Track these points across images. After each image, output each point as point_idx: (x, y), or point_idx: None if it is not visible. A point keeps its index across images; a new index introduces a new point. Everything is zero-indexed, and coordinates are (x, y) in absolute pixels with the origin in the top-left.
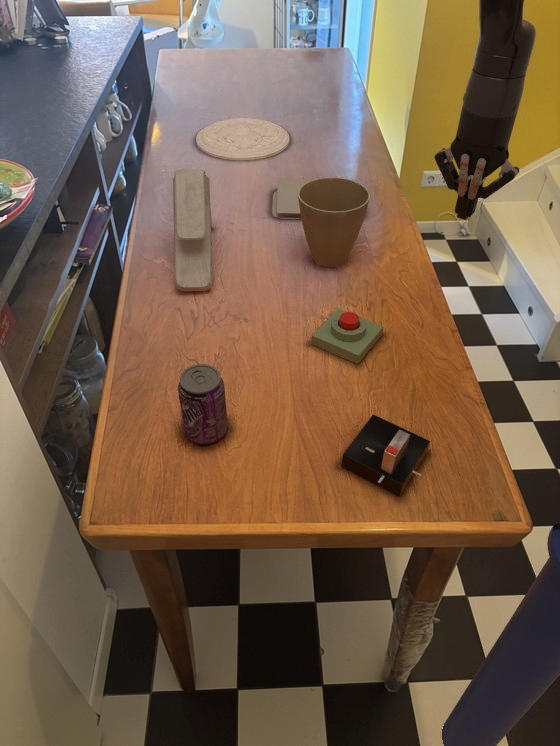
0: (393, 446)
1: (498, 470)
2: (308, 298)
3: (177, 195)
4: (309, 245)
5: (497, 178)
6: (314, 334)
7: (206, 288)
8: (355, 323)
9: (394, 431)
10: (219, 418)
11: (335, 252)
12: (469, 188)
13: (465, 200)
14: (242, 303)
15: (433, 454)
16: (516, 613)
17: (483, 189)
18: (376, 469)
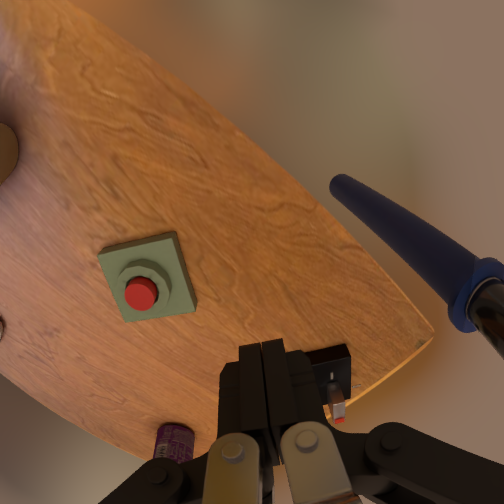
0: (338, 417)
1: (409, 309)
2: (51, 246)
3: None
4: None
5: (449, 499)
6: (125, 319)
7: (2, 329)
8: (154, 300)
9: (314, 371)
10: (192, 455)
11: (1, 179)
12: (266, 468)
13: (277, 449)
14: (29, 311)
15: (351, 339)
16: (403, 255)
17: (369, 492)
18: (324, 404)
